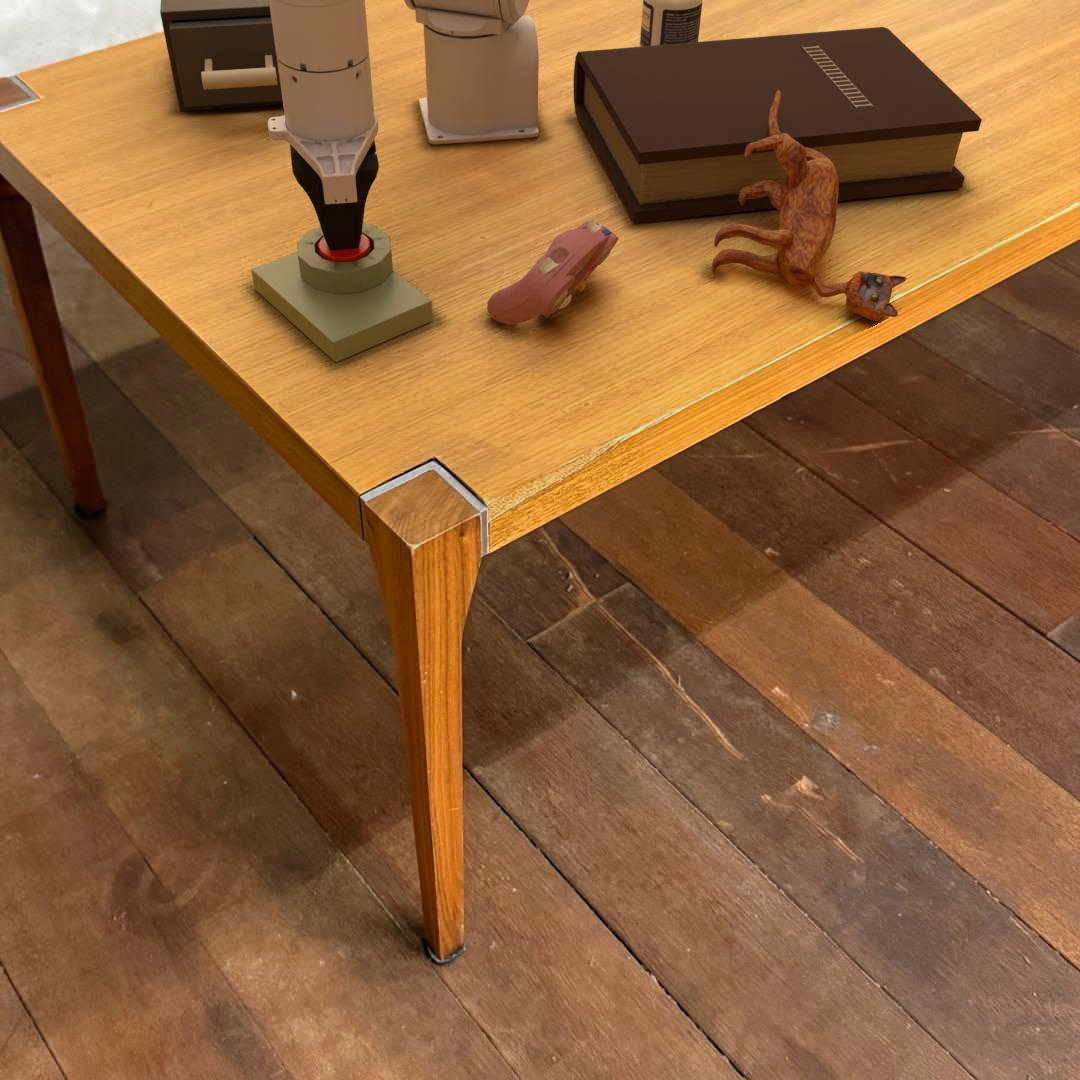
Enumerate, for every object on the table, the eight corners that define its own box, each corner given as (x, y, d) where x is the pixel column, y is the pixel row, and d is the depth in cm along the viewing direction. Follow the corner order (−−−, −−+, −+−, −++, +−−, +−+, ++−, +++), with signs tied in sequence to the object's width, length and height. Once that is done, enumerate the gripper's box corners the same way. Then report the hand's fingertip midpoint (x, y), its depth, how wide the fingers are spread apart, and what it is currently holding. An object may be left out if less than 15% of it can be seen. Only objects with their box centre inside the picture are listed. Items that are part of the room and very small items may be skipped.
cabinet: (313, 102, 108) (301, 4, 102) (179, 111, 106) (159, 12, 100) (305, 43, 116) (294, -51, 110) (182, 50, 115) (163, -45, 109)
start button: (311, 262, 86) (308, 240, 85) (354, 245, 88) (351, 224, 87) (338, 285, 84) (335, 263, 83) (381, 267, 86) (379, 246, 85)
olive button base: (254, 289, 87) (246, 246, 85) (356, 249, 91) (352, 207, 89) (335, 363, 81) (330, 319, 79) (441, 317, 85) (439, 274, 83)
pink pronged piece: (526, 356, 85) (567, 295, 79) (477, 313, 85) (515, 249, 79) (596, 290, 91) (640, 229, 85) (551, 249, 91) (591, 185, 85)
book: (864, 83, 112) (878, 18, 108) (961, 187, 99) (981, 119, 95) (572, 109, 107) (575, 43, 103) (633, 223, 94) (639, 152, 90)
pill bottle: (705, 64, 115) (718, -43, 108) (678, 85, 112) (690, -24, 105) (655, 50, 117) (664, -56, 110) (627, 70, 114) (635, -38, 107)
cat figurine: (767, 56, 90) (953, 91, 88) (759, 117, 96) (932, 151, 94) (707, 256, 84) (904, 299, 82) (702, 307, 90) (885, 348, 88)
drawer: (308, 121, 103) (299, 42, 99) (184, 130, 102) (168, 50, 97) (299, 44, 114) (290, -31, 109) (186, 50, 113) (172, -25, 108)
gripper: (254, 9, 80) (281, 196, 89) (261, 110, 70) (290, 308, 79) (362, 4, 81) (377, 189, 90) (383, 102, 71) (398, 298, 80)
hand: (343, 244), depth 85 cm, fingers closed, pressing on start button
